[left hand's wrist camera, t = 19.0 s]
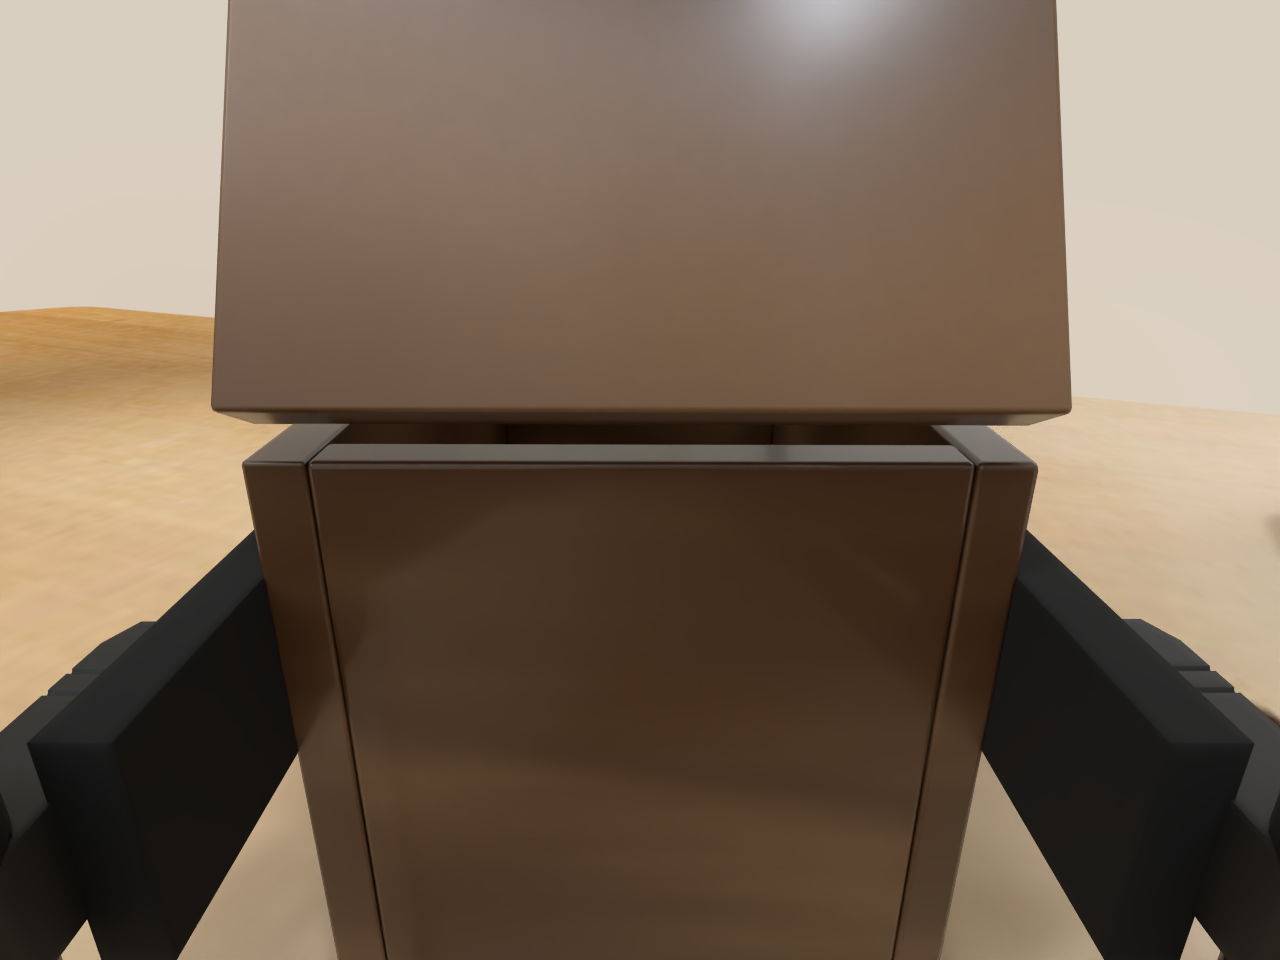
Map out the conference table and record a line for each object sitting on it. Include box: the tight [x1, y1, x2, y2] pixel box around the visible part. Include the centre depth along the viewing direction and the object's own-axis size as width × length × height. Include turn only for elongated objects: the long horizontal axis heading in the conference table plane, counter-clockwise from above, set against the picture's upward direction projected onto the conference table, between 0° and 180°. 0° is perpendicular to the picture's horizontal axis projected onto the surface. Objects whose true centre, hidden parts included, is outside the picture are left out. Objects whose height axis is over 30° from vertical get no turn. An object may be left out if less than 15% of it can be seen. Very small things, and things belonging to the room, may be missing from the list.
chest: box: [242, 424, 1038, 960], centre depth 18 cm, size 14×9×10 cm, turn 0°
